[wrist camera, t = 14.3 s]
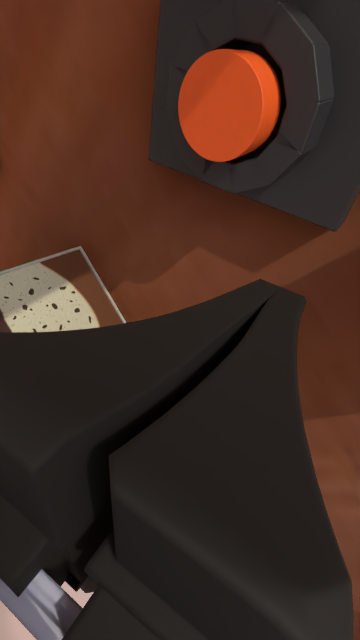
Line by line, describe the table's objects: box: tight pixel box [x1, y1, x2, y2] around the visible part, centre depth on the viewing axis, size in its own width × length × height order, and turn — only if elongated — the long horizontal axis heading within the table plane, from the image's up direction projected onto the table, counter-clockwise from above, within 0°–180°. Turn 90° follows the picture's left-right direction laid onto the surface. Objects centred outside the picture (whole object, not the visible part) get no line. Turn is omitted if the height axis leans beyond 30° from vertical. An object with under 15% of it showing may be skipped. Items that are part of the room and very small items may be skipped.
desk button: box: [178, 49, 281, 162], centre depth 13 cm, size 4×4×2 cm
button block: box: [149, 0, 360, 231], centre depth 15 cm, size 11×8×4 cm
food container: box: [0, 246, 126, 332], centre depth 29 cm, size 12×6×10 cm, turn 33°
